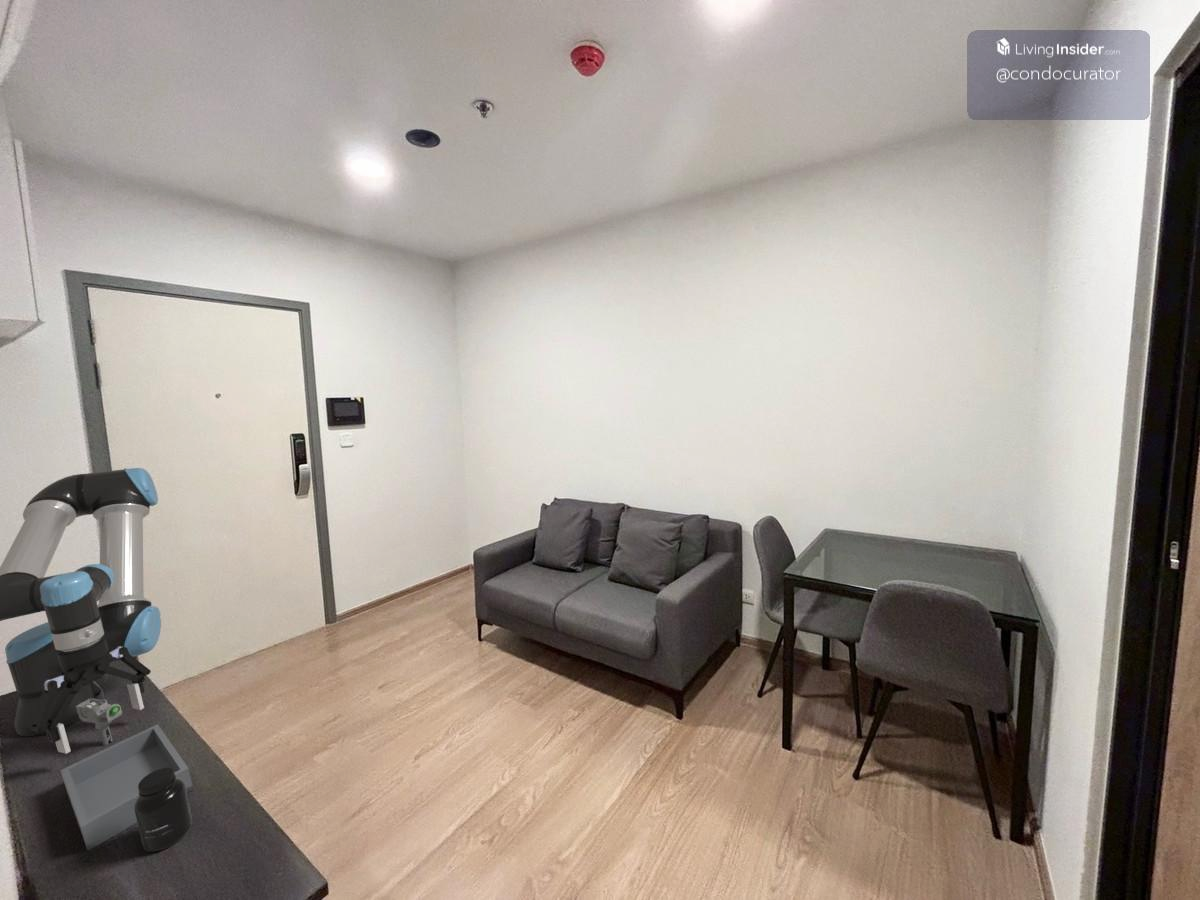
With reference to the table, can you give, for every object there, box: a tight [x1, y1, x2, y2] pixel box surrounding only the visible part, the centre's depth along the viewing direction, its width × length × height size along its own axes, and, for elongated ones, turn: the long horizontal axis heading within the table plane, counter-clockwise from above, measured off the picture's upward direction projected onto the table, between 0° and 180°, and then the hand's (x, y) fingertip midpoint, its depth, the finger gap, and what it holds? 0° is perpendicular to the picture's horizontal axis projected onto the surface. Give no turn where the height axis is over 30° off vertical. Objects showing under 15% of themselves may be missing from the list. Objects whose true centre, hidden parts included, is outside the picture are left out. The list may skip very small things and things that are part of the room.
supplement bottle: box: [134, 767, 193, 853], centre depth 88 cm, size 7×7×12 cm
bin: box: [60, 723, 194, 852], centre depth 98 cm, size 22×15×5 cm
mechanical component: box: [76, 698, 123, 746], centre depth 112 cm, size 3×10×10 cm, turn 79°
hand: (103, 728), depth 112 cm, fingers open, 13 cm apart
